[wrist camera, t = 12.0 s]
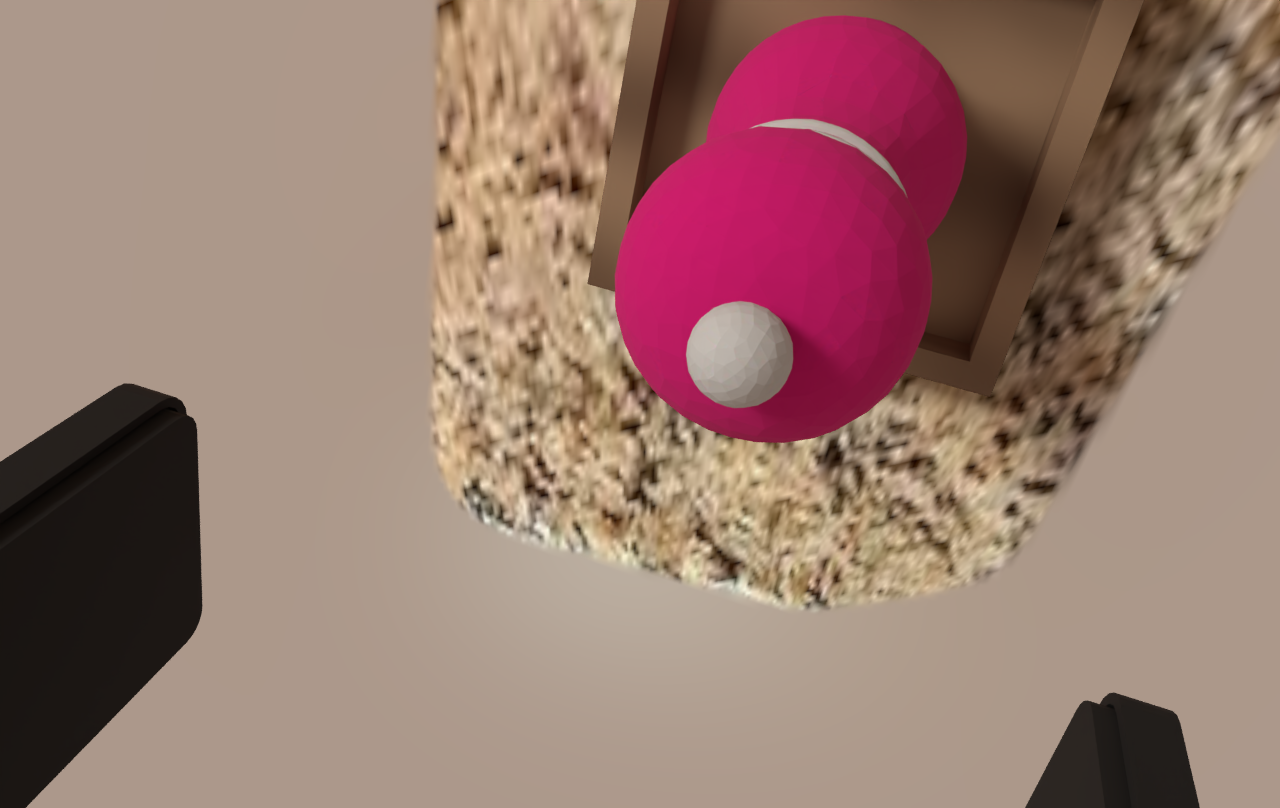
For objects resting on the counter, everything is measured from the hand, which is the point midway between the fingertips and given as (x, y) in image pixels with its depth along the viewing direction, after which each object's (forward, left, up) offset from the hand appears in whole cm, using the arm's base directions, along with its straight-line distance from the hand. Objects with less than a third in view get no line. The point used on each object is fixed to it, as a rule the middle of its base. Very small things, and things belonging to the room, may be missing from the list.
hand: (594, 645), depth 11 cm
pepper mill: (0, 0, -27) cm, 27 cm away
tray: (0, 0, -28) cm, 28 cm away
